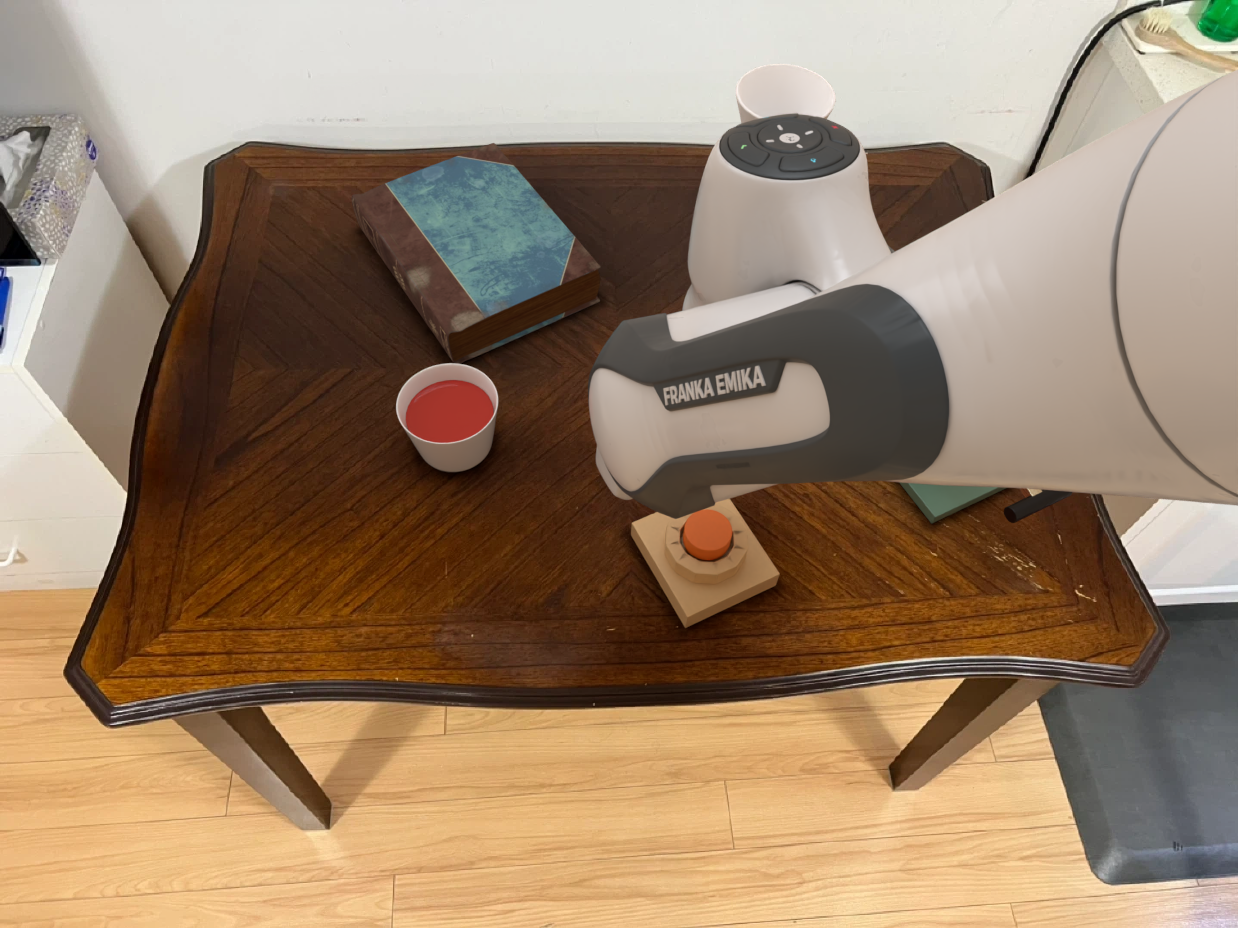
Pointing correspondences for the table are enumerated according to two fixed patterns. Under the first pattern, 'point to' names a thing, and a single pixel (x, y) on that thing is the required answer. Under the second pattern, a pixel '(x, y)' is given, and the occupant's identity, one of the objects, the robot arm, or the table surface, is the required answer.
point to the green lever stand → (946, 498)
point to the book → (477, 251)
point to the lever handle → (1033, 503)
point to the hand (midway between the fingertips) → (724, 472)
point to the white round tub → (449, 415)
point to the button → (707, 534)
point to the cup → (783, 92)
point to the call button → (704, 565)
